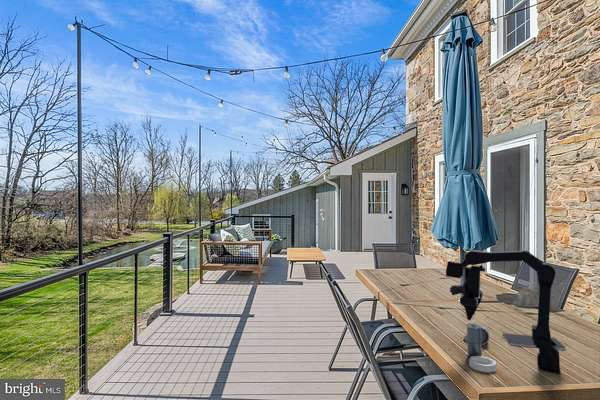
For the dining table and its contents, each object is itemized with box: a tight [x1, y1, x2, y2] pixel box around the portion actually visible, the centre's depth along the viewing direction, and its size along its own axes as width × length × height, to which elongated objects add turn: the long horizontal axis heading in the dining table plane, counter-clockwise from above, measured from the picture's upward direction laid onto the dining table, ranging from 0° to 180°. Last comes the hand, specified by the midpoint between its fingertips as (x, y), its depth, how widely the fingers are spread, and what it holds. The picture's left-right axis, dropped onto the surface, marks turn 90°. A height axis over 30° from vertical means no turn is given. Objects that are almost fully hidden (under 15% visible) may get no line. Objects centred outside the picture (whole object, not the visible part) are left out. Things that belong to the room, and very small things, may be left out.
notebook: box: [502, 333, 566, 351], centre depth 161 cm, size 13×2×21 cm
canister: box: [466, 322, 483, 359], centre depth 145 cm, size 5×5×13 cm
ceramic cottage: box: [513, 281, 539, 308], centre depth 226 cm, size 16×16×15 cm
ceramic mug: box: [463, 324, 490, 346], centre depth 163 cm, size 11×8×8 cm
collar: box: [468, 355, 497, 374], centre depth 136 cm, size 9×9×2 cm
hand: (470, 317), depth 149 cm, fingers open, 9 cm apart
